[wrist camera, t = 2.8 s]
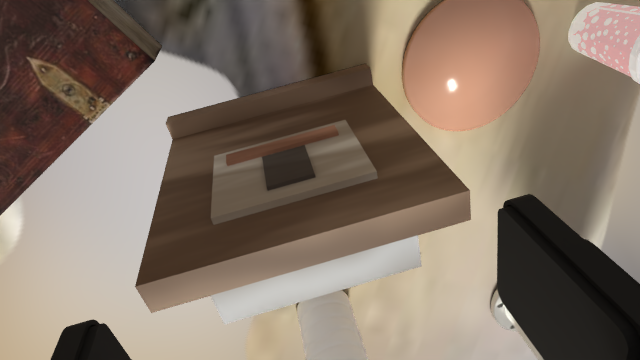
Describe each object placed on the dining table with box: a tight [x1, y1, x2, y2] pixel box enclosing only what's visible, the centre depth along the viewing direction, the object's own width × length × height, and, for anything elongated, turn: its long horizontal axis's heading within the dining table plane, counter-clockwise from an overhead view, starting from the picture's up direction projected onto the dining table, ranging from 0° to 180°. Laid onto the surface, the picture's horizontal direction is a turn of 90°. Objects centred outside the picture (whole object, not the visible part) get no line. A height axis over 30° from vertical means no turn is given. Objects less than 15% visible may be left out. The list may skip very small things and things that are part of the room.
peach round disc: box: [402, 0, 540, 131], centre depth 40 cm, size 13×13×1 cm
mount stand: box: [135, 64, 471, 324], centre depth 33 cm, size 10×18×20 cm, turn 102°
